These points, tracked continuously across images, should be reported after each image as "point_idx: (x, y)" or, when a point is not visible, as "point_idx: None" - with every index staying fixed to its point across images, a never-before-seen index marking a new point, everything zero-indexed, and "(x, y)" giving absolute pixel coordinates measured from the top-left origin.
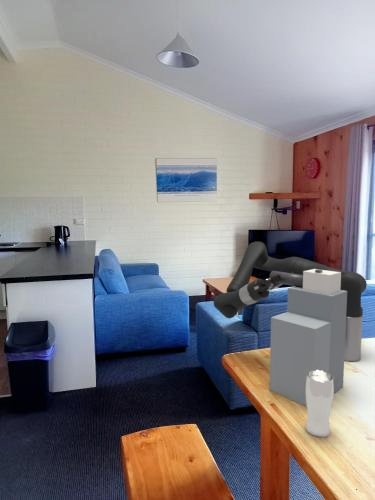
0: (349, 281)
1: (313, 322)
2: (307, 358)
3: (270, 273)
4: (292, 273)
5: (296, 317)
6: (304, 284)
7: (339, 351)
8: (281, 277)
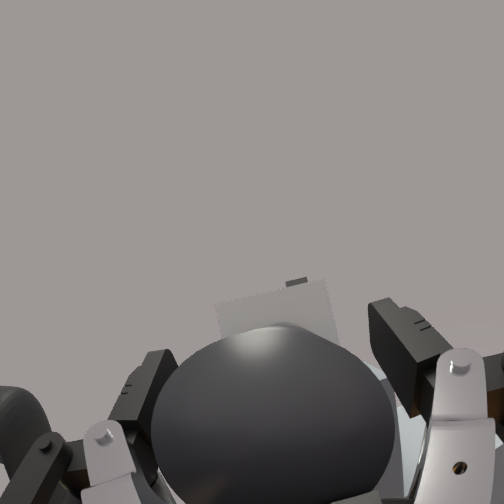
0: (31, 407)
1: (401, 419)
2: None
3: (352, 356)
4: (175, 361)
5: (420, 445)
6: (337, 342)
7: None
8: (374, 329)
